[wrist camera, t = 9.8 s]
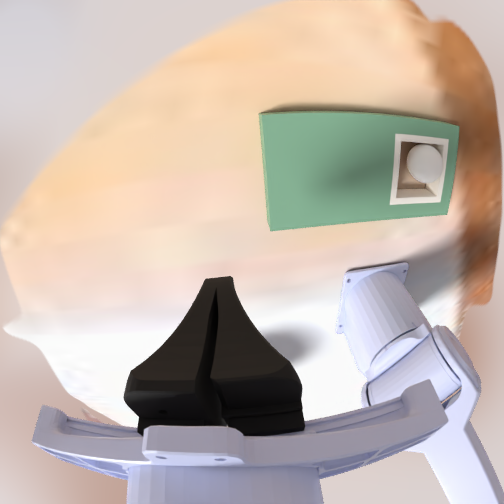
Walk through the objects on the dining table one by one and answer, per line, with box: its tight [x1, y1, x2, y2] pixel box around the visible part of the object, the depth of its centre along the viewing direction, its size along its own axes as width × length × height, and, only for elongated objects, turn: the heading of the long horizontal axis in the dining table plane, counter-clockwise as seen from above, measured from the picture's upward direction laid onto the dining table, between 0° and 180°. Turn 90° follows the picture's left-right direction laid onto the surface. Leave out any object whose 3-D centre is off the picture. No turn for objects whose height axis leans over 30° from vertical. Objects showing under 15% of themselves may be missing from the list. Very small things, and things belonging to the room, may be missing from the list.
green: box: [259, 111, 459, 231], centre depth 20 cm, size 9×18×2 cm, turn 95°
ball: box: [407, 144, 443, 183], centre depth 19 cm, size 4×4×4 cm
